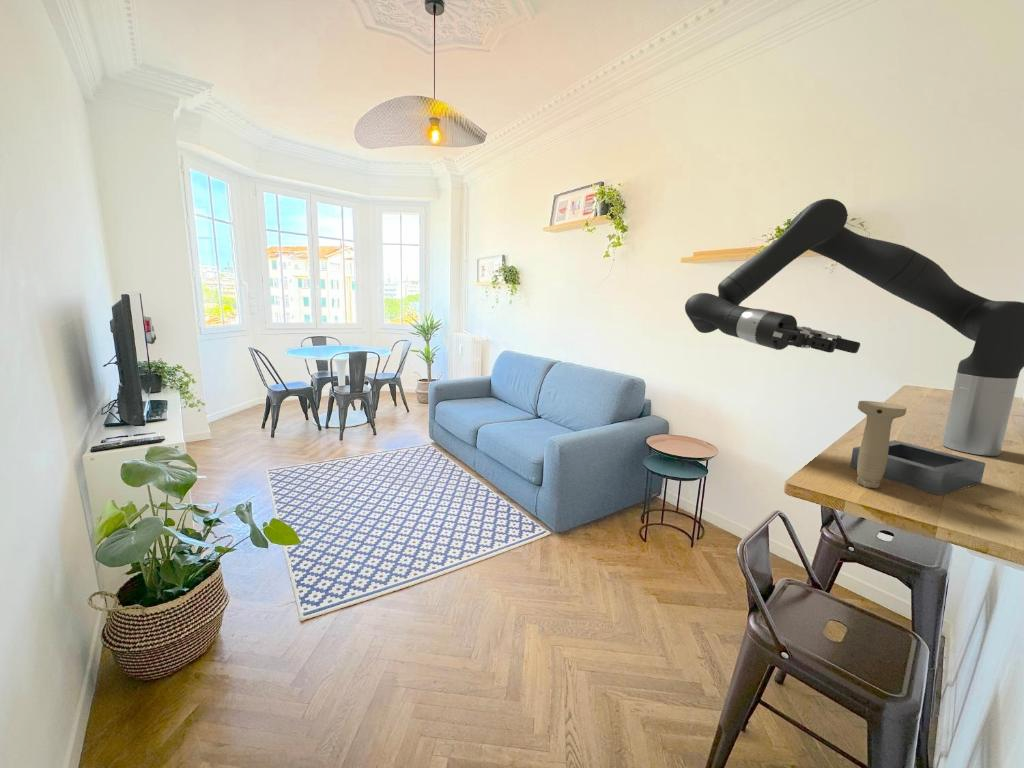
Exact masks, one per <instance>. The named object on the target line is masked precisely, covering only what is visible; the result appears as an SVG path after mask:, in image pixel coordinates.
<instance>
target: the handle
mask: <svg viewBox="0 0 1024 768" xmlns="http://www.w3.org/2000/svg"><path fill="white" fill-rule="evenodd" d="M857 409H858V410H859V411H860V412H861V413H863V414H865V416H866V422H865V427H864V431H863V435H862V439H861V443H860V446H859V447H860V450H859V456H858V463H857V469H856V471H857V472H856V473H857V477H856V483H857V485H860V486H863V487H865V488H872V489H878V488H879V486H880V484H881V483H882V479H883V478H884V477H883V474H884V471H885V468H886V464H887V459H888V458H887V457H888V450H889V441H890V438H891V437H890V436H891V429H892V424H893V422H894V421H893V420H895V419H897V418H901V417H904V416H906V414H907V409H908V407H907V406H904V405H899V404H895V403H889V402H888V403H887V402H883V401H881V402H880V401H871V400H859V401H858V405H857Z"/></svg>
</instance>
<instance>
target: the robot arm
mask: <svg viewBox="0 0 1024 768" xmlns="http://www.w3.org/2000/svg"><path fill="white" fill-rule="evenodd" d="M847 220H848V210H847V207H846V205H845V204H844V203H843V202H841V201H840V200H837V199H834V198H823V199H819V200H817V201H814V202H812V203H811V204H809V205H807V206H806V207H805V208H804V209H803V210H801V211H800V212H799V213H798V214H797V215H796V216H795V217H794V218H793V219H792V220H791V221H790V224H789V228H788V229H787V230H786V231H785V232H784V233H782V234H781V235H780V236H779V237H778V238H777V239H775V240H774V241H773V242H772V243H770V244H769V245H768V246H766V247H765V248H764V249H762V250H761V251H759V252H758V253H757V254H755V255H754V256H752V257H751V258H750V259H748V260H746V261H745V262H744V263H742V264H741V265H739V267H738V268H736V269H735V270H734V271H732V272H731V273H730V274H728V276H726V277H725V278H723V280H722V281H720V282H719V284H718V285H717V293H718V294H717V295H718V296H717V295H716V294H713V293H707V292H700V293H696V294H693V295H692V296H690V297H689V298H687V300H686V302H685V305H684V311H685V314H686V315H687V317H688V319H689V320H690V322H691V323H692V325H693V327H694V328H695V330H697V332H699V333H702V334H707V333H708V334H709V333H712V332H715V331H716V330H719V331H720V332H721V333H723V334H725V335H727V336H730V337H734V338H738V339H740V340H741V339H742V340H744V341H746V342H748V343H752V344H755V345H759V346H763V347H765V348H766V347H767V348H769V349H774V350H777V351H781V350H782V351H783V350H784V349H786V348H788V346H791V347H795V348H802V349H814V350H818V351H821V352H824V353H825V352H826V353H829V354H831V353H834V352H835V350H839V351H842V352H846V353H851V354H857V353H858V352H859V350H860V347H861V343H860V342H859V341H855V340H851V339H846V338H842V336H841V335H838V334H837V335H835V334H831V333H827V331H823V330H817V329H812V328H811V327H807V326H803V325H802V326H798V322H797V319H796V317H795V316H793V315H792V314H787V313H782V312H777V311H772V310H769V309H761V308H751V307H746V306H742V305H741V304H742V302H743V301H745V300H747V299H748V298H749V297H750V296H752V294H754V293H755V292H757V291H758V290H759V289H760V288H761V287H763V286H764V285H765V284H767V282H769V281H770V280H771V279H772V278H773V277H775V276H776V275H777V274H778V273H780V272H781V271H782V270H783V269H784V268H785V267H787V266H788V265H789V264H791V263H792V262H793V261H795V260H796V259H797V258H799V257H800V256H801V255H803V254H804V253H806V252H807V251H811V252H814V253H816V254H817V255H821V256H823V257H824V258H825V257H826V258H828V259H830V260H832V261H834V262H836V263H838V264H840V265H842V266H843V267H845V268H847V269H848V270H850V271H851V272H852V273H855V274H856V275H858V276H861V277H862V278H863V279H866V280H867V281H869V282H871V283H872V284H874V285H876V286H877V287H879V288H881V289H883V290H885V291H887V292H888V293H890V294H891V295H894V296H896V297H898V298H900V299H902V300H904V301H905V302H908V303H910V304H912V305H914V306H916V307H918V308H920V309H922V310H925V311H927V312H929V313H931V314H932V315H934V316H935V317H937V318H938V319H940V320H941V321H943V322H944V323H945V324H947V325H949V326H950V327H951V328H952V329H954V330H955V331H957V332H958V333H960V334H961V335H962V336H963V337H965V338H967V339H969V340H971V341H973V342H974V345H973V349H972V350H971V351H972V352H971V353H970V355H968V356H967V357H965V358H963V359H961V360H960V361H959V362H958V364H957V365H958V366H957V370H956V375H955V381H954V384H953V389H952V394H951V399H950V404H949V409H948V413H947V418H946V423H945V427H944V428H945V429H944V433H943V436H942V437H943V438H942V442H941V445H942V446H943V447H946V448H949V449H951V450H954V451H958V452H961V453H967V454H971V455H972V454H973V455H979V456H988V457H989V456H990V457H991V456H992V457H995V456H996V457H997V456H1000V455H1001V452H1002V448H1003V444H1004V439H1005V437H1006V436H1005V435H1006V432H1007V428H1008V424H1009V419H1010V416H1011V410H1012V408H1013V407H1012V406H1013V401H1014V397H1015V394H1016V388H1017V384H1018V381H1019V377H1020V373H1021V371H1022V370H1023V368H1024V302H1022V301H1015V300H1011V301H1010V300H992V299H989V298H986V297H983V296H981V295H979V294H976V293H974V292H972V291H970V290H968V289H966V288H964V287H962V286H960V284H957V282H955V280H953V279H952V278H951V277H950V276H949V274H948V273H947V272H946V271H945V270H944V269H943V268H942V267H941V266H940V265H939V264H938V263H936V262H935V261H933V260H932V259H931V258H929V257H927V256H926V255H923V254H922V253H919V252H917V251H915V250H914V249H912V248H910V247H908V246H905V245H902V244H899V243H895V242H890V241H886V240H882V239H878V238H877V239H876V238H870V237H869V236H868V237H867V236H864V235H861V234H858V233H856V232H854V231H852V230H851V229H848V227H845V225H846V224H847Z"/></svg>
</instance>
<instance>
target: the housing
mask: <svg viewBox="0 0 1024 768" xmlns="http://www.w3.org/2000/svg"><path fill="white" fill-rule="evenodd" d="M859 450H860V446H854V447H853V448H852V454H851V460H850V465H849V466H851V467H850V468H853V469H856V468H857V463H858V456H859ZM887 458H888V459H887V464H886V468H885V471H884V474H883V477H882V478H884V479H886V480H887V479H888V480H890V481H894V482H897V483H900V484H903V485H905V484H906V485H905V486H908V485H909V487H911V488H915V489H919V490H921V491H924V492H927V493H931V494H933V495H936V496H940V495H944V494H949V493H952V492H955V490H956V491H958V489H959V490H962V489H961V488H963V489H965V488H964V487H967V488H969V487H968V486H970V487H973V486H972V485H974V486H976V484H977V485H980V484H979V483H981V484H982V480H983V477H984V472H985V468H986V462H984V461H979V460H975V459H971V458H968V457H964V456H960V455H955V454H952V453H948V452H943V451H939V450H935V449H932V448H928V447H924V446H920V445H916V444H912V443H908V442H904V441H900V440H896V439H895V440H893V439H892V440H889V450H888V457H887Z"/></svg>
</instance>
